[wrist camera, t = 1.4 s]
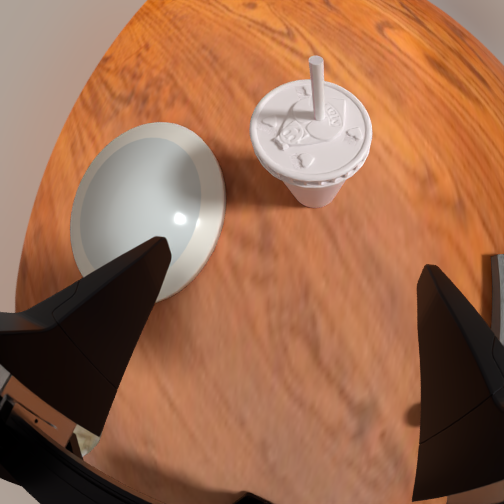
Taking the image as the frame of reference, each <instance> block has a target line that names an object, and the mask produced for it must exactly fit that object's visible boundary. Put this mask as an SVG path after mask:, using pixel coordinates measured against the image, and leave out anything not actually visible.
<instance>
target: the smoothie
mask: <svg viewBox="0 0 504 504" xmlns="http://www.w3.org/2000/svg"><path fill="white" fill-rule="evenodd" d="M309 68H310V78H311V80H310V79H309V80H297V81H293V82H289V83H286V84H283V85H281V86H279V87H277V88H275V89H273V90H272V91H270V92H269V93H268V94H267V95H265V96H264V97H263V98H262V99H261V101H260V102H259V103H258V105H257V106H256V108H255V110H254V112H253V114H252V117H251V121H250V138H251V142H252V145H253V148H254V152H255V155H256V156H257V158H258V159H259V161H260V163H261V164H262V166H263V167H264V168H265V169H266V170H267V171H269V172H270V173H271V174H272V175H273V176H274V177H276V178H278V179H280V180H282V181H283V182H284V184H285V185H286V186H287V187H288V189H289V190H290V191H291V193H292V194H293V195H294V196H295V198H296V199H297V200H298V201H299V202H300V203H301V204H303V205H304V206H307V207H310V208H320V207H323V206H325V205H327V204H329V203H330V202H331V201H332V200H333V199H334V197H335V196H336V194H337V193H338V191H339V190H340V188H341V187H342V185H343V184H344V182H345V181H346V179H348V178H350V177H352V176H353V175H354V174H355V173H356V172H357V171H358V170H359V169H360V168H361V167H362V165H363V164H364V162H365V160H366V158H367V156H368V154H369V150H370V144H371V140H372V125H371V121H370V117H369V115H368V113H367V111H366V109H365V107H364V106H363V104H362V103H361V102H360V101H359V100H358V99H357V98H356V97H355V96H354V95H353V94H352V93H350V92H349V91H347V90H346V89H344V88H342V87H340V86H338V85H336V84H333V83H330V82H326V81H324V66H323V59H322V58H321V57H320V56H312V57H310V58H309Z"/></svg>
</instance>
